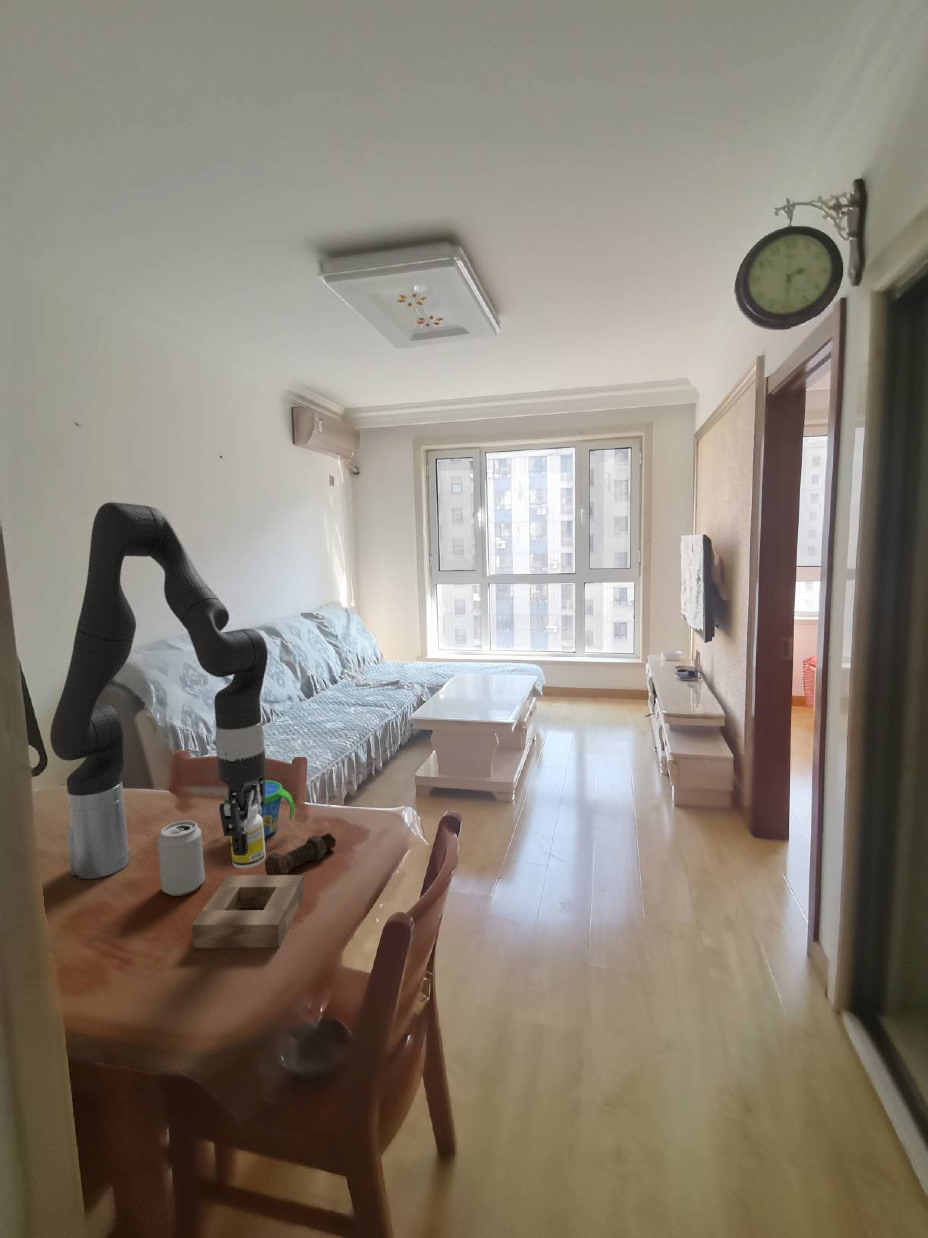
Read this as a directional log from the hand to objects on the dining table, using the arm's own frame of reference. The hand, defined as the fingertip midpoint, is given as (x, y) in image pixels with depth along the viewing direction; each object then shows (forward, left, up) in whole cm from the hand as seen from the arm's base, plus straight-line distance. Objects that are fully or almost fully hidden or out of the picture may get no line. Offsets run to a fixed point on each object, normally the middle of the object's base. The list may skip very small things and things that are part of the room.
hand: (247, 844), depth 99 cm
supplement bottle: (0, 0, -3) cm, 3 cm away
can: (-17, +10, -14) cm, 24 cm away
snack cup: (-10, +31, -14) cm, 35 cm away
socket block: (0, 0, -14) cm, 14 cm away
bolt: (+4, +18, -14) cm, 23 cm away
